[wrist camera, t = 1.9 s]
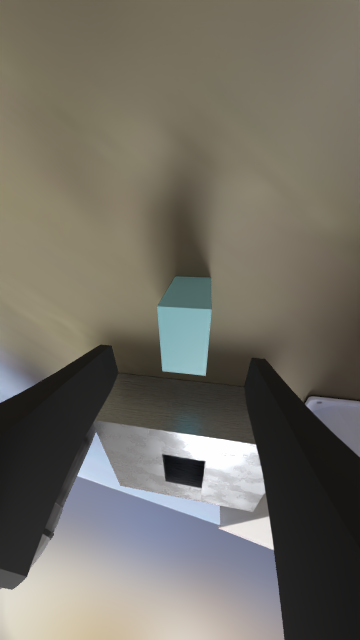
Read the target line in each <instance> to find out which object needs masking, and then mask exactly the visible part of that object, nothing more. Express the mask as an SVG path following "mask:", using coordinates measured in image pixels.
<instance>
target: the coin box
mask: <svg viewBox="0 0 360 640" xmlns="http://www.w3.org/2000/svg"><path fill="white" fill-rule="evenodd" d="M93 425H94V427H95V430H96V432H97V434H98V436H99V439H100V441H101V443H102V445H103V448H104V450H105V452H106V454H107V456H108V459H109V461H110V463H111V465H112V468H113V470H114V472H115V474H116V477H117V479H118V481H119V483H120V486H125V487H130V488H135V489H140V490H145V491H150V492H155V493H160V494H165V495H170V496H175V497H180V498H185V499H190V500H195V501H200V502H205V503H210V504H215V505H220V506H225V507H230V508H235V509H240V510H245V511H250V512H253V511H254V509H255V508H256V506H257V504H258V503H259V501H260V499H261V498H262V496H263V495H264V493H265V486H264V480H263V474H262V469H261V464H260V460H259V455H258V451H257V447H256V443H255V439H254V435H253V431H252V427H251V423H250V419H249V414H248V410H247V404H246V397H245V388H244V387H241V386H232V385H223V384H214V383H205V382H196V381H187V380H178V379H169V378H160V377H151V376H141V375H132V374H123V373H118V376H117V378H116V381H115V383H114V386H113V388H112V390H111V392H110V394H109V396H108V398H107V399H106V401H105V403H104V405H103V406H102V408H101V410H100V412H99V413H98V415H97V417H96V419H95V420H94V422H93Z"/></svg>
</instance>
